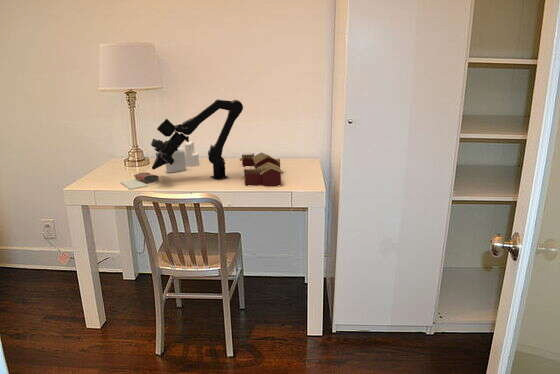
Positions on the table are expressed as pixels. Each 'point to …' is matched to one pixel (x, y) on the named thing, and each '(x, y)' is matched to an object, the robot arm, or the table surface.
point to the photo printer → (177, 162)
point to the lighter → (146, 177)
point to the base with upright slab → (191, 155)
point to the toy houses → (261, 170)
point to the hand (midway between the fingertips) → (152, 169)
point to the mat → (134, 184)
